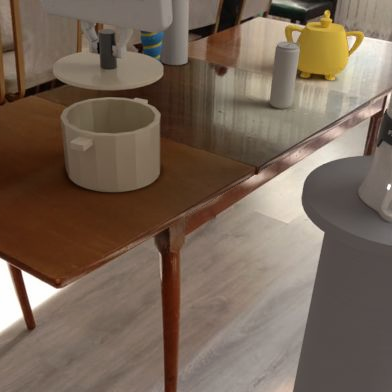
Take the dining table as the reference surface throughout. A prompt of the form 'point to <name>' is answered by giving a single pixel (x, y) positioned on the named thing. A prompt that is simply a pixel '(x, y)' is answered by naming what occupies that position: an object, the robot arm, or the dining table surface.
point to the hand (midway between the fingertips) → (107, 55)
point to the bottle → (176, 35)
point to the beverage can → (284, 74)
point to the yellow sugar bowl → (323, 47)
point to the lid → (108, 67)
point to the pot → (112, 143)
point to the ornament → (152, 44)
